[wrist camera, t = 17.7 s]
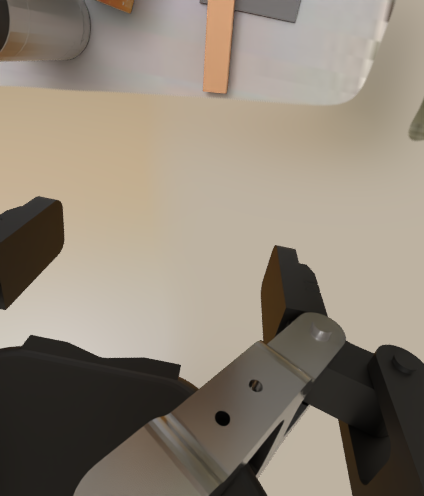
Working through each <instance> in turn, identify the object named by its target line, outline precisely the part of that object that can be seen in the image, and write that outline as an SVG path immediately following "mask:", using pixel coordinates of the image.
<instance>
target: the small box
mask: <svg viewBox="0 0 424 496" xmlns="http://www.w3.org/2000/svg"><path fill="white" fill-rule="evenodd" d="M96 1H99V2H101V3H104V4H106V5H109V6H111V7H114V8H116V9H119V10H121V11H124V12H127V13H131V10H132V6H133V2H134V0H96Z"/></svg>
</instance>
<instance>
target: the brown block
mask: <svg viewBox="0 0 424 496" xmlns="http://www.w3.org/2000/svg"><path fill="white" fill-rule="evenodd" d="M234 8H235V0H208V8H207V26H206V44H205V63H204V81H203V91H204V92H215V93H226V92H227V88H228V76H229V65H230V53H231V42H232V31H233V19H234Z"/></svg>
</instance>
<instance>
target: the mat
mask: <svg viewBox="0 0 424 496" xmlns="http://www.w3.org/2000/svg"><path fill="white" fill-rule="evenodd" d="M200 3H204V4H208V0H200ZM299 4H300V0H235V8H234V10H237V11H242V12H246V13H251V14H256V15H261V16H265V17H270V18H275V19H280V20H284V21H289V22H295V20H296V16H297V12H298V8H299Z"/></svg>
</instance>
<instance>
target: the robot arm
mask: <svg viewBox="0 0 424 496" xmlns="http://www.w3.org/2000/svg"><path fill="white" fill-rule="evenodd" d="M89 36H90V18H89V14H88V10H87V8H86V5H85V3H84V1H83V0H0V62H3V61H44V60H69V59H72V58H75V57H76V56H78V55H79V54H80V53H81V52H82V51H83V50H84V49H85V47H86V45H87V43H88V40H89ZM63 244H64V223H63V207H62V203H61V202H60V201H59V200H54V199H49V198H44V197H40V196H38V197H35V198H34V199H32V200H31V201H29V202H28V203H27V204H25V205H23V206H20V207H17V208H13V209H10V210H7V211H5V212H4V213H2V214H1V215H0V309H3V310H6V309H7V308H8V307H9V306H10V305H11V304H12V303H13V302H14V301H15V300H16V299H17V298H18V297H19V296H20V295H21V293H22V292H23V291H24V290H25V289H26V288H27V287H28V286H29V285H30V284H31V283H32V282H33V281H34V280H35V279H36V278H37V276H38V275H39V274H40V273H41V272H42V271H43V270H44V269H45V268H46V267H47V266H48V265H49V264H50V263H51V262H52V261H53V260H54V259H55V257H57V256H58V254H59V253H60V252H61V250H62V248H63ZM317 284H318V283H317V280H316V277H315V274H314V273H313V272H312V270H310V268H309V267H308V266H307V265H305V264H300V263H299V261H298V258H297V254H296V250H295V249H292V248H286V247H281V246H277V245H275V246H274V248H273V251H272V254H271V257H270V260H269V263H268V266H267V269H266V273H265V275H264V279H263V282H262V287H261V307H262V325H263V341H261V340H260V341H257V342H256V343H254V344H253V345H252V346H251V347H250V348H248V349H247V350H246V351H245V352H244V353H242V354H241V355H240V356H239V357H238V358H236V359H235V360H234V361H233V362H231V363H230V364H229V365H228V366H227V367H225V368H224V369H223V370H222V371H220V372H219V373H218V374H217V375H216V376H214V377H213V378H212V379H211V380H210V381H208V382H207V383H206V384H205V385H204V386H202V387H201V388H200V389H198V388H197V387H195V386H194V385H193V384H191V383H190V382H188V381H186V380H184V379H183V378H181V377H179V372H180V367H181V365H179V364H174V363H169V362H164V361H159V360H154V359H149V358H102V357H98V356H96V355H94V354H92V353H90V352H88V351H85V350H83V349H81V348H79V347H77V346H75V345H72V344H70V343H68V342H64V341H59V340H53V339H49V338H43V337H38V336H33V335H30V336H29V338H28V339H27V340H26V341H25V343H24V344H23V345H22V346H16V347H7V348H2V349H0V496H267V494H266V492H265V491H264V489H263V487H262V486H261V484H260V482H259V481H258V477H259V476H260V475H261V473H262V471H264V469H265V468H266V466H267V465H268V463H269V461H270V460H271V459H272V457H273V455H274V454H275V452H276V451H277V449H278V448H279V446H280V445H281V444H282V442H283V441H284V439H285V438H286V437H287V436H288V434H289V433H290V432H291V430H292V429H293V428H294V426H295V425H296V424H297V422H298V421H299V420H300V419H301V417H302V416H303V415H304V413H305V412H306V411H307V409H308V408H309V407H310V405H311V406H314V407H315V408H318V409H320V410H322V411H324V412H325V413H327V414H329V415H331V416H333V417H335V418H337V419H338V421H339V426H340V432H341V437H342V442H343V448H344V453H345V458H346V464H347V469H348V474H349V480H350V485H351V490H352V495H353V496H424V363H422V361H421V360H420V359H418V358H417V357H416V356H414V355H413V354H412V353H410V352H409V351H407V350H405V349H403V348H400V347H397V346H394V345H382V346H380V347H379V348H378V349H377V350H376V352H375V353H371V352H369V351H367V350H364V349H362V348H359V347H358V346H355V345H353V344H351V343H349V342H348V341H346V336H345V333H344V331H343V330H342V328H341V327H340V326H339V325H338V324H337V323H336V322H335V321H333V320H332V319H331V318H329V317H328V316H327V313H326V309H325V306H324V303H323V299H322V297H321V293H320V290H319V286H318V285H317Z"/></svg>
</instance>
